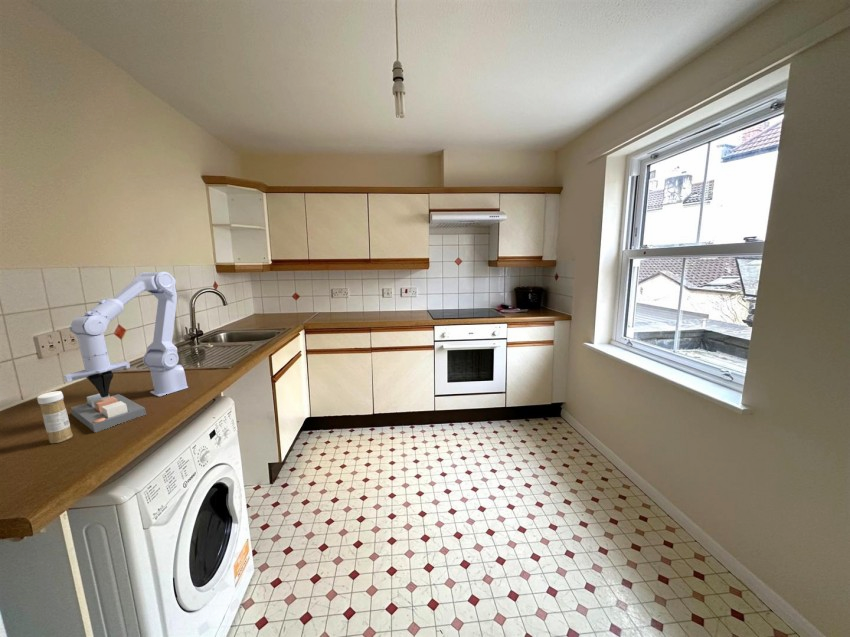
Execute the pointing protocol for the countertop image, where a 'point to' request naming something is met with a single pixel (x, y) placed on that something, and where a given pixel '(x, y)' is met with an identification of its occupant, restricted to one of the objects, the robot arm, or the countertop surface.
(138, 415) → the console
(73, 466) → the countertop surface
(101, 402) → the terracotta button
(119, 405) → the off-white button
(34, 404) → the countertop surface
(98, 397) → the grey button
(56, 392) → the spice jar
